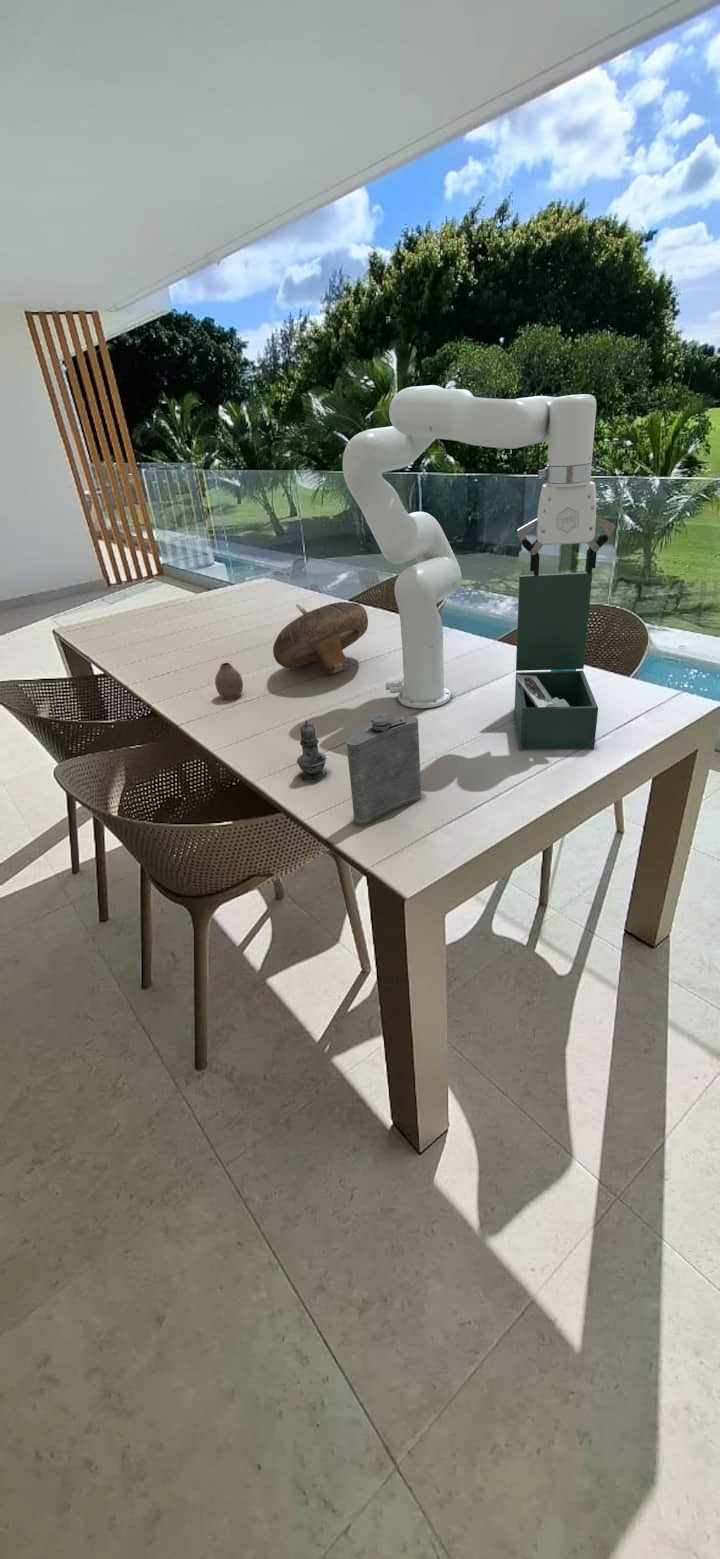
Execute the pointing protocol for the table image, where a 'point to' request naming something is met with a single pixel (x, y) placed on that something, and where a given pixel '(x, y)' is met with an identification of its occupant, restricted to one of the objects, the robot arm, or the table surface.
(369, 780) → the flask
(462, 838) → the table surface
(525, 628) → the box lid
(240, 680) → the vase
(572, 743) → the green lidded box
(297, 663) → the mushroom
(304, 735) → the salt shaker
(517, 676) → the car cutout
